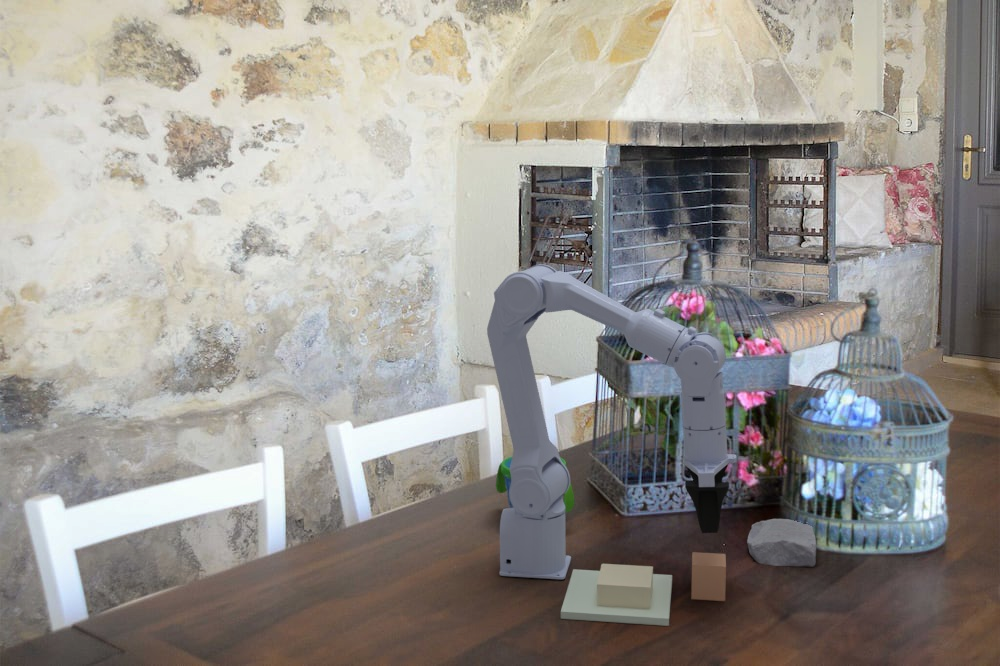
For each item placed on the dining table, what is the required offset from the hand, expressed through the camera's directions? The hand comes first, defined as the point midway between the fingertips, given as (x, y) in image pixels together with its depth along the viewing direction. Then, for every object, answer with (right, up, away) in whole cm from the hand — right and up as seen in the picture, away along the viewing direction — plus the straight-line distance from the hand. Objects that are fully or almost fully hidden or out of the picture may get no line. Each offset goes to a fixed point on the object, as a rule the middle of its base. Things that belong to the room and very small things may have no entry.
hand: (709, 522), depth 148 cm
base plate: (-12, -11, 0) cm, 16 cm away
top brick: (0, -10, +2) cm, 10 cm away
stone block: (+14, -8, +16) cm, 23 cm away
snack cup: (-23, -5, +30) cm, 38 cm away
